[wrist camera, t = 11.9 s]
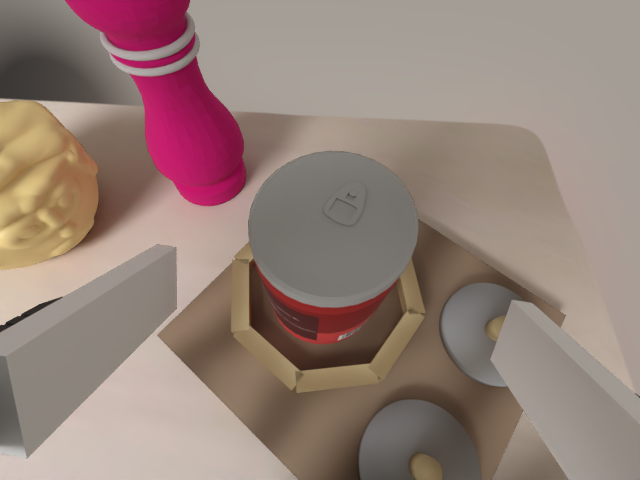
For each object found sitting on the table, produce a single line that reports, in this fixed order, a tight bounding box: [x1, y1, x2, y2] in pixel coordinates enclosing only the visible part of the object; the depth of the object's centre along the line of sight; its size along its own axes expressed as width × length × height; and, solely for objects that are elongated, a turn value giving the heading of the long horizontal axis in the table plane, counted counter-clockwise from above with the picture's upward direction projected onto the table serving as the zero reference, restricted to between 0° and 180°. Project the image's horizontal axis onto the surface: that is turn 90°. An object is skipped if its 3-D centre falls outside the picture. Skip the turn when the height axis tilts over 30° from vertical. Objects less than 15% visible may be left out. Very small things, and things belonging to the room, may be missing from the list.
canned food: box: [248, 151, 419, 344], centre depth 19 cm, size 8×8×11 cm
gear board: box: [157, 219, 566, 480], centre depth 22 cm, size 22×20×4 cm
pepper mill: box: [65, 0, 246, 206], centre depth 21 cm, size 7×7×20 cm
